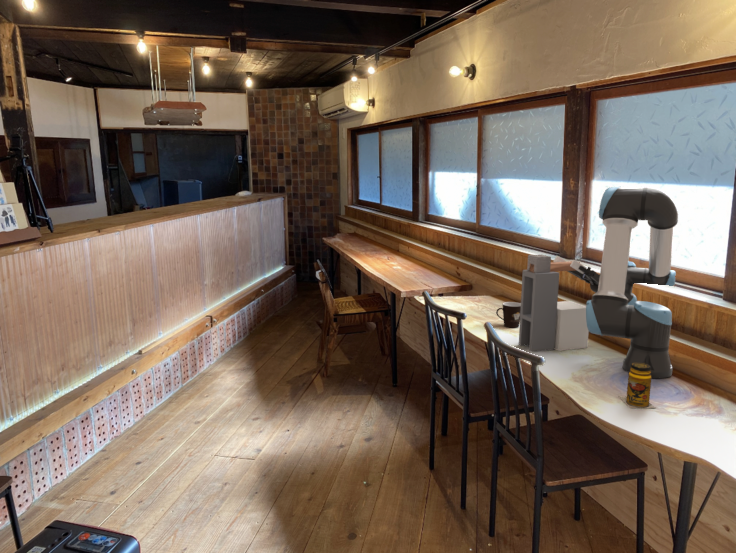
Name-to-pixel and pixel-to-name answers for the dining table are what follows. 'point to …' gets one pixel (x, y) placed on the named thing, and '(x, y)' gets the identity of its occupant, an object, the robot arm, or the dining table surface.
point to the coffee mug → (510, 314)
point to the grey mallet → (546, 264)
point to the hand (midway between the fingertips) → (563, 260)
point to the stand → (538, 310)
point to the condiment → (638, 386)
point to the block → (571, 326)
